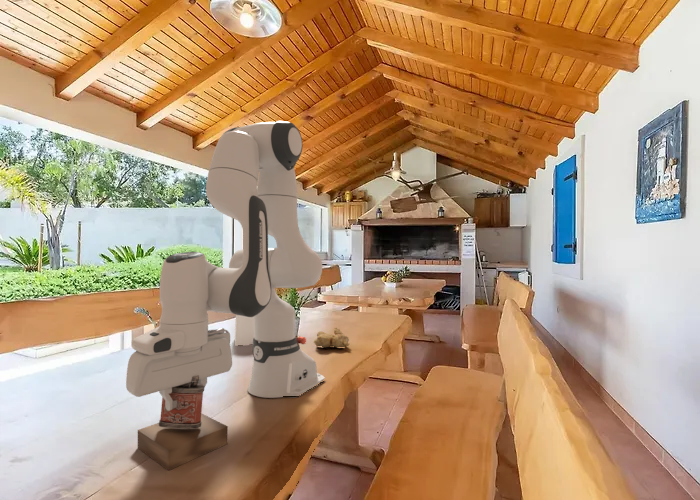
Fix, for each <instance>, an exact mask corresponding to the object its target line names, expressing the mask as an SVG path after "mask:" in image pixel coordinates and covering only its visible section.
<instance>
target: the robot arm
mask: <svg viewBox="0 0 700 500" xmlns="http://www.w3.org/2000/svg"><path fill="white" fill-rule="evenodd" d="M302 152H303V138H302V135H301V131H300V130H299V129H298V127H297V126H296V125H295V124H294V123H292V122H290V121H283V120H277V121H276V122H275V121H267V122H264V121H263V122H255V123H253V124H247V125H243V126H240V127H239V126H237V127H236V126H235V127H233V128H230V129H228V130H226V131H224V132H223V134H221V136H220V137H219V139H218V141H217V143H216V145H215V148H214V151H213V154H212V157H211V160H210V163H209V168H208V174H207V179H206V184H205V192H206V193H205V195H206V197H207V199H208V201H209V203H210V204H211V206H212V207H213V208H214V209H215V210H217V211H218V212H220V213H222V214H223V215H225V216H227V217H230V218H231V219H234V220H236V221H238V222H239V224H240V225H241V228H242V249H240V250H237V251H236V252H234V253H233V254H232V256H231V257H230V261H229V265H228V267H221V266H219V267H218V266H217V265H215V264H212V263H211V262H210V261H208V260H207V259H206V255H205V253H202V252H200V251H186V252H177V253H173V254H171V255H169V256H167V257H166V258H165V259H164V261H163V263H162V267H161V271H160V281H159V302H160V304H161V305H160V306H161V313H160V317H159V326H157V327H155V328H152V329H151V330H149V331H147V332H144V333H143V334H140V335H138V336H136V337H134V338H133V339H132V341H131V347H132V349H133V350H134V352H133V353H132V354H131V355H130V357H129V359H128V363H127V369H126V376H125V377H126V379H125V381H126V383H125V384H126V385H125V386H126V390H127V392H128V393H130V394H131V395H132V396H135V397H137V398H140V397H144V396H147V395H151V394H154V393H158V392H159V395H160V396H161V398H162V397H163V398H164V400H165V408H166V410H168V411H170V410H173V409H176V408H177V400H176V399H172V398H171V397H170V395H169V394H170V393H172V387H176V386H179V385H183V384H186V383H190V382H191V380H192V377H193V376H198V375H199V381H198V384H197V385H202V386H204V389H205V388H206V385H207V384H208V378H211V377H213V376H217V375H220V374H224V373H227V372H230V371H231V368H232V367H233V355H232V347H231V334H230V332H229V330H227V329H225V328H223V327H220V328H217V329H209V315H208V312H212V313H213V312H214V313H222V314H232V315H235V316H236V315H241V316H246V317H254V324H255V337H254V338H253V345H252V355H253V356H252V357H253V361H252V362H253V363H252V370H251V374H250V375H251V376H250V380H249V385H248V388H247V391H248V393H249V394H251V395H252V396H256V397H258V398H265V399H266V398H269V399H272V398H273V399H275V398H277V399H278V398H284V397H283V396H299V395H300V394H302V393H304V392H306V391H307V390H309V389H311V388H312V387H314V386H315V385H317V384H318V383H320V382H321V381H323V380H324V379H325V380H326V377H325V376H324V375H322V374H320V373H319V372H318V369H317V362H316V361H315V359H314V358H313V357H312V356H310V355H309V354H307V353H306V352H305V351H303V350H302V349H301V348H300V344H301V345H305V344H306V343H307V337H305V336H301V335H300V336H298V337H297V336H296V311H295V309H294V307H293V306H292V305H291V304H290V303H289V302H288V301H285V300H283V299H282V298H280V297H279V295H278V294H277V290H276V288H277V289H278V288H281V289H282V288H284V289H285V288H286V289H300V288H307V287H312V286H315V285H316V284H317V283H318V281H320V278H321V276H322V273H323V263H322V260H321V258H320V256H319V254H318V253H317V252H316V251H315V250H313V249H312V248H311V247H310V246H309V245H308V243H306V241H305V240H304V238H303V236H302V234H301V231H300V227H299V223H298V221H299V220H298V188H297V187H298V186H297V185H298V184H297V183H298V182H297V178H296V170H295V166H296V164H297V162H298V161H299V159H300V157H301V155H302ZM269 236H271V237H272V238H274V240H275V242H276V247H269ZM317 386H318V385H317ZM314 388H315V387H314ZM312 389H313V388H312ZM312 389H311V390H312ZM309 391H310V390H309ZM307 392H308V391H307ZM307 392H306V393H307ZM304 394H305V393H304ZM302 395H303V394H302ZM300 396H301V395H300ZM300 396H299V397H300Z"/></svg>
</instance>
